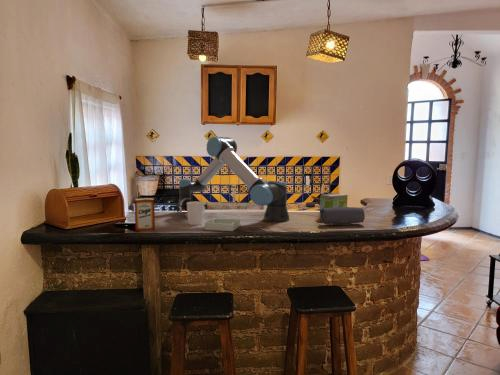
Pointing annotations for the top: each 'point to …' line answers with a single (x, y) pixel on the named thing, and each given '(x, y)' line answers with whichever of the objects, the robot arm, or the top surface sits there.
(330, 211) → the bluetooth speaker
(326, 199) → the tea box
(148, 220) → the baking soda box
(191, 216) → the candle holder
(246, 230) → the top surface
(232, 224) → the tray
